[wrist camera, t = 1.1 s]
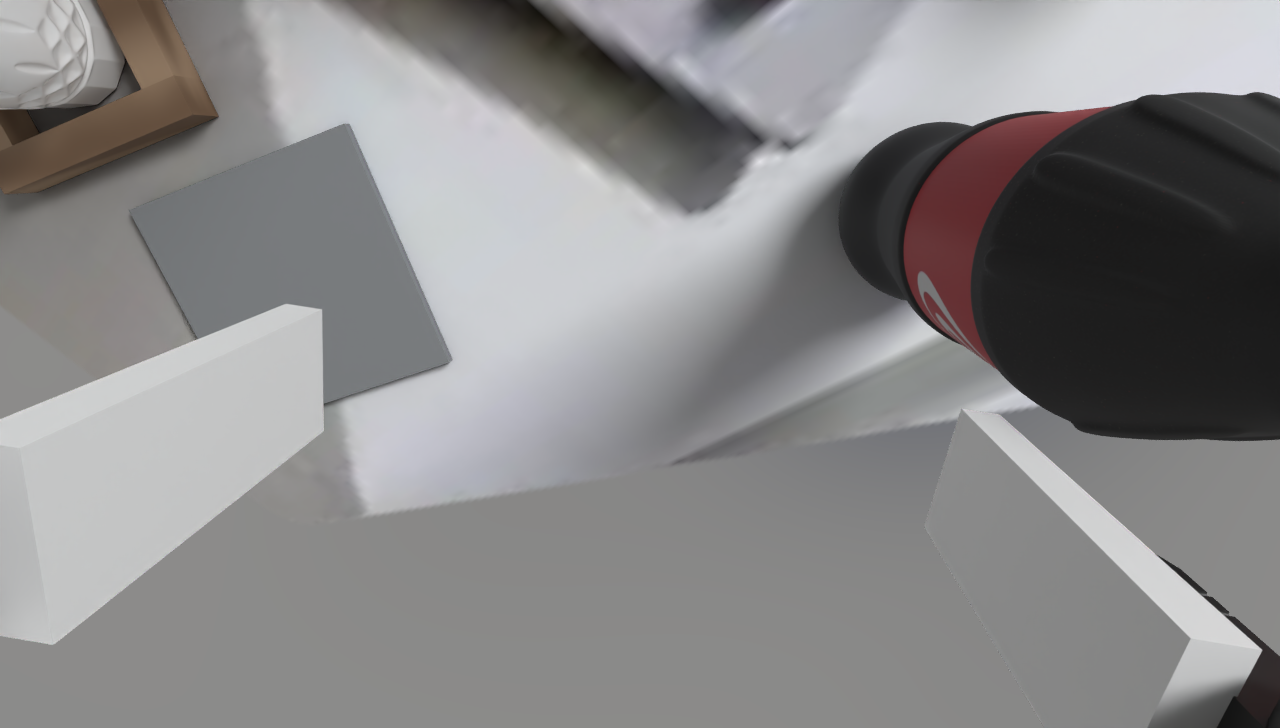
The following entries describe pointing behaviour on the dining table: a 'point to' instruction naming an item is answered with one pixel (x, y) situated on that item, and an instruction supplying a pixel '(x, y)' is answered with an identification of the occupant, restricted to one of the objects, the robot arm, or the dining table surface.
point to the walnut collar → (112, 107)
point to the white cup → (56, 54)
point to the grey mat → (299, 258)
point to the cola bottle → (1094, 256)
